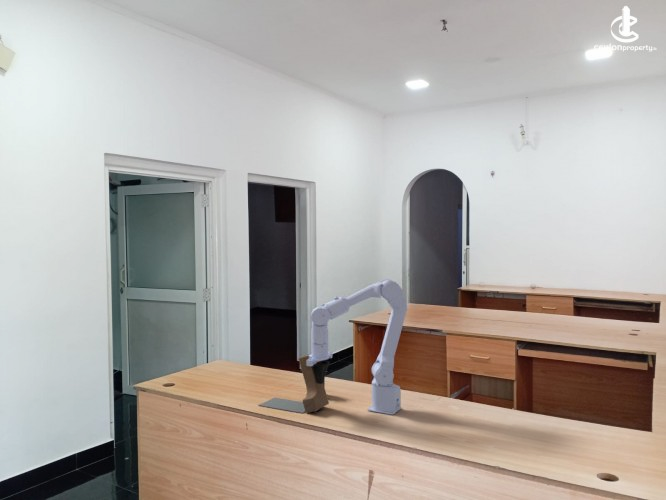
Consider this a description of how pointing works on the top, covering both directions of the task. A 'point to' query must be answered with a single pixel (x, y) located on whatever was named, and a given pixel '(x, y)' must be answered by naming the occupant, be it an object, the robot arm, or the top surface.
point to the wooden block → (312, 388)
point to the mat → (284, 405)
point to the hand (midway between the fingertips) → (319, 383)
